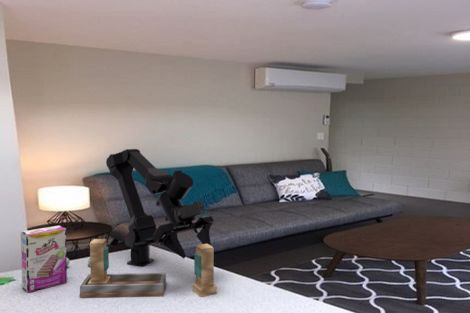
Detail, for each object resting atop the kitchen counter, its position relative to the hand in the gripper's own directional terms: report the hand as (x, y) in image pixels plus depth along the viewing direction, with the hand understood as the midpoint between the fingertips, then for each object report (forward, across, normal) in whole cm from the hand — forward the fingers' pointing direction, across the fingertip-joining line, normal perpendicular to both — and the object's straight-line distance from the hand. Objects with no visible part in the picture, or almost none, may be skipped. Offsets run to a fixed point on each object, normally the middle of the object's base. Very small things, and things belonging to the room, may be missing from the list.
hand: (197, 253), depth 122 cm
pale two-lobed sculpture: (-22, -23, +37) cm, 49 cm away
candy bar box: (-15, -30, +30) cm, 45 cm away
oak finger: (+9, 0, +5) cm, 11 cm away
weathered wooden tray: (-2, -15, +17) cm, 23 cm away
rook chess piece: (-20, -12, +34) cm, 41 cm away
